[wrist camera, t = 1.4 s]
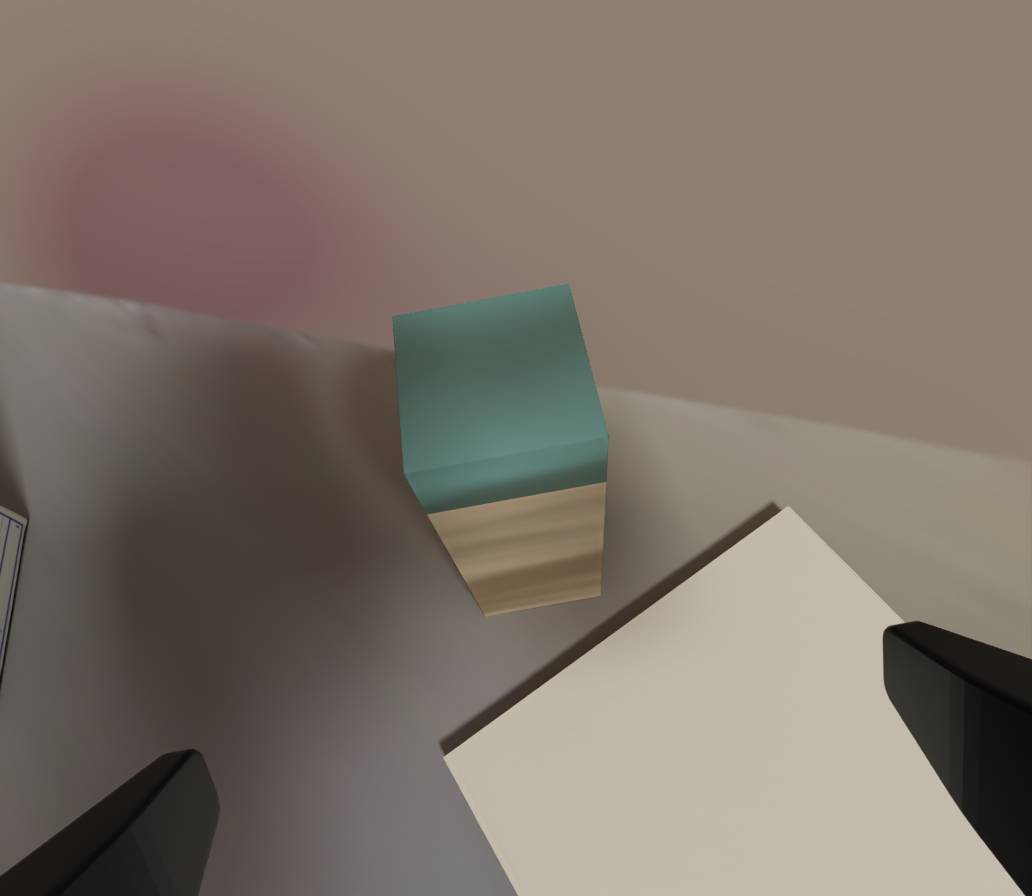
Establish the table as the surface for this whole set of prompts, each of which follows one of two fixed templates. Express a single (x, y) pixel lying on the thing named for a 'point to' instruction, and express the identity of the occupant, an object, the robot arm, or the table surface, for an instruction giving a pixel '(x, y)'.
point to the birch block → (506, 444)
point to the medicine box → (8, 567)
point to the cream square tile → (727, 750)
